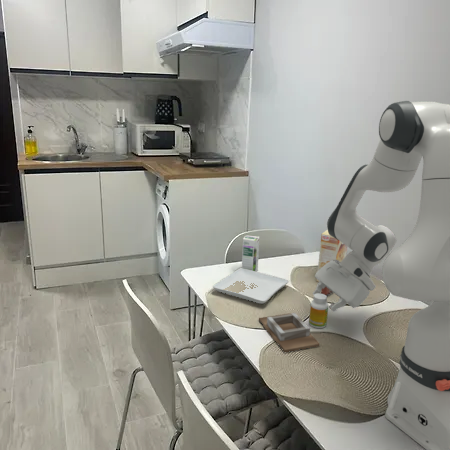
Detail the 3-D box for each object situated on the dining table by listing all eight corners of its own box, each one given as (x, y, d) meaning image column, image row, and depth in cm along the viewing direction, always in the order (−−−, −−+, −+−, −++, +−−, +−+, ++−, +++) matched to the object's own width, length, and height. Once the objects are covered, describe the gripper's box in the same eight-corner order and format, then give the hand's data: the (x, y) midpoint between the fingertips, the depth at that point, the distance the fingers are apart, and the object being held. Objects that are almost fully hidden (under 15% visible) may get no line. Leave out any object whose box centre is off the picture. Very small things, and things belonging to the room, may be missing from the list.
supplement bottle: (326, 329, 128) (329, 301, 125) (308, 327, 129) (311, 299, 126) (326, 320, 133) (329, 293, 130) (308, 318, 134) (311, 291, 131)
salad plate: (239, 274, 166) (240, 266, 165) (289, 287, 156) (289, 279, 155) (210, 294, 149) (211, 285, 148) (264, 310, 139) (265, 301, 138)
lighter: (328, 288, 156) (331, 263, 153) (336, 290, 154) (339, 265, 151) (318, 295, 150) (320, 269, 147) (326, 298, 148) (329, 272, 145)
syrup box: (241, 273, 167) (242, 238, 163) (244, 267, 172) (246, 234, 168) (254, 275, 165) (256, 240, 161) (258, 269, 171) (259, 236, 166)
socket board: (319, 346, 119) (320, 335, 118) (284, 353, 115) (285, 342, 114) (289, 315, 135) (290, 306, 134) (258, 320, 132) (259, 310, 131)
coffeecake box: (333, 286, 157) (339, 237, 152) (315, 281, 161) (320, 233, 155) (345, 272, 170) (350, 227, 164) (328, 268, 173) (332, 224, 167)
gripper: (329, 252, 137) (300, 282, 137) (368, 277, 119) (335, 312, 119) (339, 263, 140) (311, 293, 140) (379, 289, 121) (347, 324, 121)
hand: (322, 302), depth 129 cm, fingers open, 8 cm apart
